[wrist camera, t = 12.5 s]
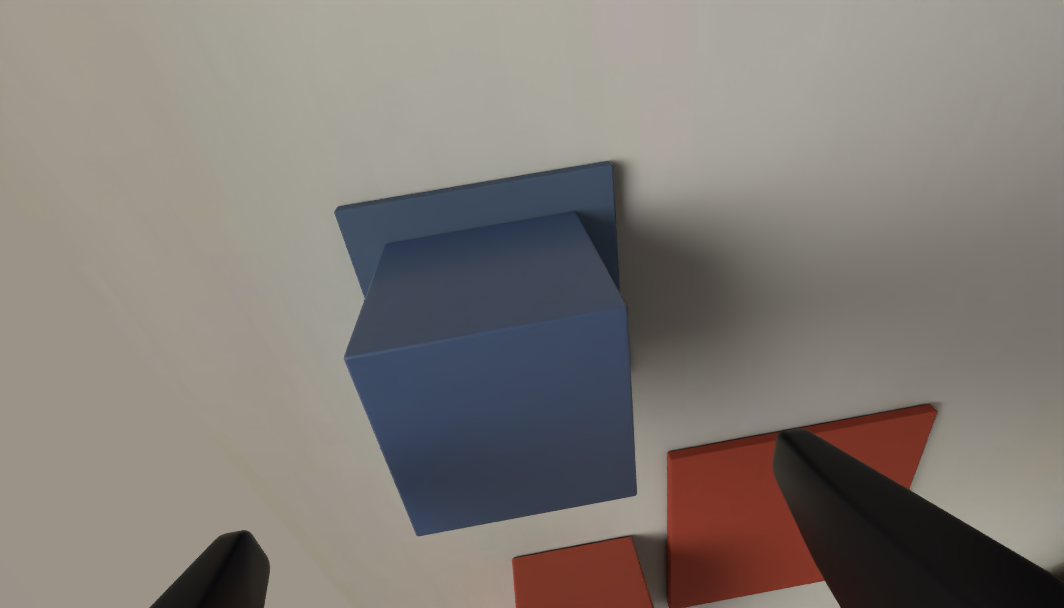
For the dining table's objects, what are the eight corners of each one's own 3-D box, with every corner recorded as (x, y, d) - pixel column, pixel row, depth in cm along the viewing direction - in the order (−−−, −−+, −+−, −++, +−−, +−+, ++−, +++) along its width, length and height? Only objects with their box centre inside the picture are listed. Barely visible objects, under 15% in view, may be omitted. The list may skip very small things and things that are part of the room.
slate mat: (409, 412, 16) (407, 420, 16) (336, 206, 13) (333, 211, 12) (621, 373, 16) (625, 381, 16) (609, 160, 13) (613, 164, 13)
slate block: (430, 391, 15) (416, 538, 11) (384, 243, 13) (342, 357, 9) (590, 363, 16) (637, 496, 11) (575, 209, 13) (628, 306, 9)
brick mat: (667, 602, 24) (670, 610, 23) (666, 451, 18) (670, 460, 18) (874, 562, 24) (880, 570, 23) (929, 403, 19) (938, 410, 18)
